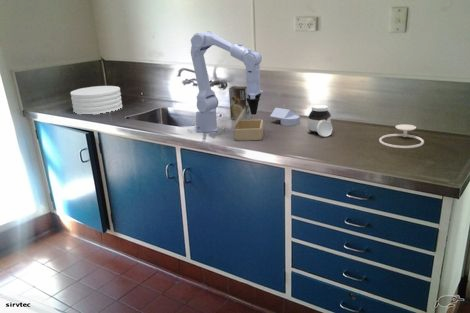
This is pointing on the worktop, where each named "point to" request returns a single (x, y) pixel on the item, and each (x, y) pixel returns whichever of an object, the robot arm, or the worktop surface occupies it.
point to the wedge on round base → (286, 117)
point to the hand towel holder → (405, 128)
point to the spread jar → (320, 121)
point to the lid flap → (238, 118)
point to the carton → (249, 130)
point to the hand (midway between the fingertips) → (254, 112)
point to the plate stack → (96, 99)
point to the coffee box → (239, 102)
